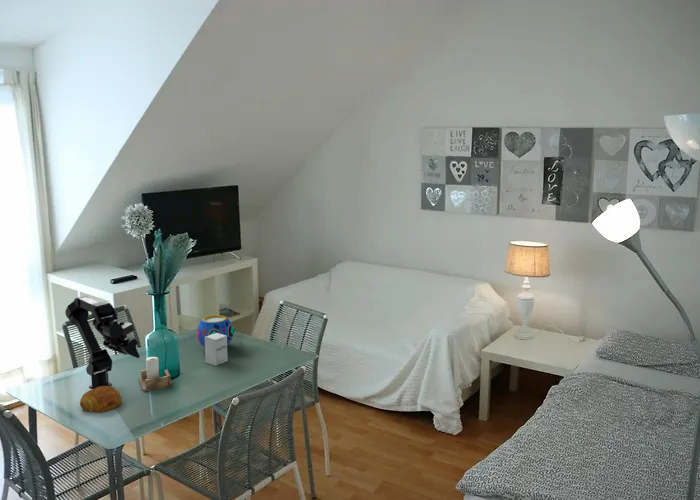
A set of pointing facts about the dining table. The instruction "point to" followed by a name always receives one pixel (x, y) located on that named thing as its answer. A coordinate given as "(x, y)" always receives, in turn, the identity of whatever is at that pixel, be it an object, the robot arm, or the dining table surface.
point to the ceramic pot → (214, 328)
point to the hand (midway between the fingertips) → (132, 355)
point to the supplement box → (216, 349)
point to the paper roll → (152, 367)
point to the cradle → (154, 381)
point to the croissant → (100, 399)
